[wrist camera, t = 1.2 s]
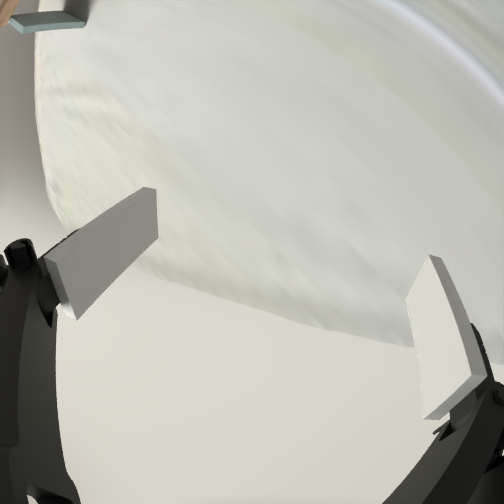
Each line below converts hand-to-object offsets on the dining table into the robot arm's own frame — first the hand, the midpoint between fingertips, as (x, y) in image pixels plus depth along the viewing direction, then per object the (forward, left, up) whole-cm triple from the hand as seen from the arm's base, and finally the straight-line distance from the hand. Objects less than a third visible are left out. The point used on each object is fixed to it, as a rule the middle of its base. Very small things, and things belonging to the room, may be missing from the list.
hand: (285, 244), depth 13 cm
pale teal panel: (+18, -63, -24) cm, 70 cm away
